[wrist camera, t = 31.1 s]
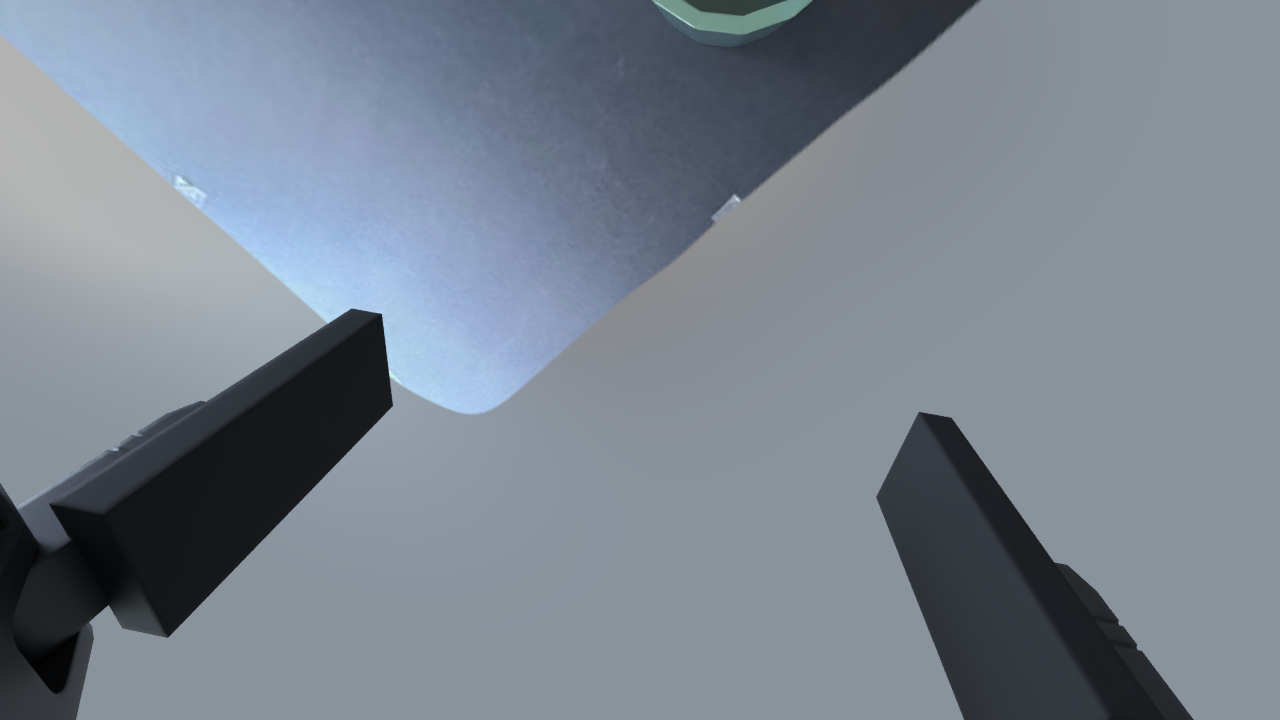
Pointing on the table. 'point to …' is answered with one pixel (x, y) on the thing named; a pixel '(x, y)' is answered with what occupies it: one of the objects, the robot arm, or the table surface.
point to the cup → (729, 18)
